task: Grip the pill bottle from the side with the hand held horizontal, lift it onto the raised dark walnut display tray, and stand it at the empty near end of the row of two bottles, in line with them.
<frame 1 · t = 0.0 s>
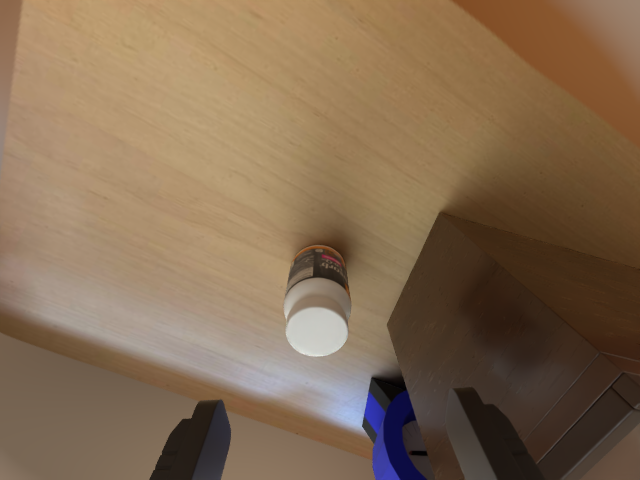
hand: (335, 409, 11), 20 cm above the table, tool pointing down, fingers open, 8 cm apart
blue curved housing: (411, 407, 40), on the table
pill bottle: (317, 266, 31), on the table
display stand: (552, 309, 34), on the table
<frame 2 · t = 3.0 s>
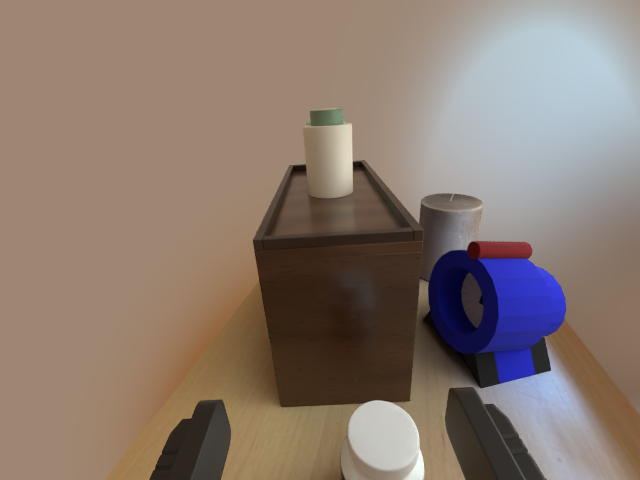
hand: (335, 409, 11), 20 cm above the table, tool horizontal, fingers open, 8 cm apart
middle bottle: (330, 192, 40), point 19 cm above the table, touching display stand
pillar candle: (442, 272, 56), on the table
blue curved housing: (485, 341, 40), on the table
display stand: (336, 308, 48), on the table
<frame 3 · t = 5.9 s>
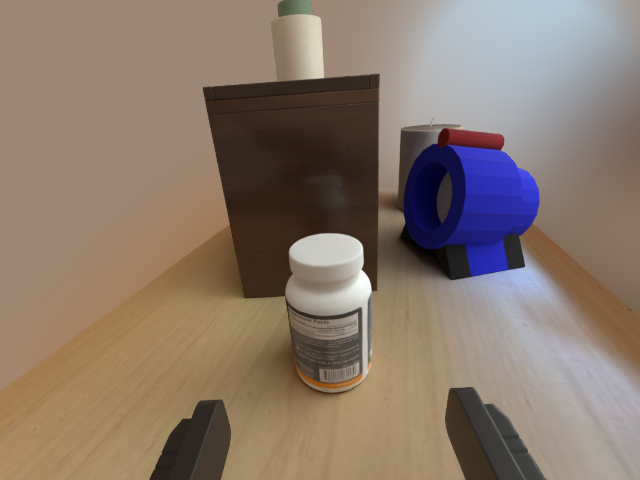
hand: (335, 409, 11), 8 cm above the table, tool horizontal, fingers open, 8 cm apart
middle bottle: (302, 99, 40), point 19 cm above the table, touching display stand
pillar candle: (424, 207, 55), on the table
blue curved housing: (460, 250, 39), on the table
pill bottle: (333, 366, 23), on the table
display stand: (313, 232, 47), on the table
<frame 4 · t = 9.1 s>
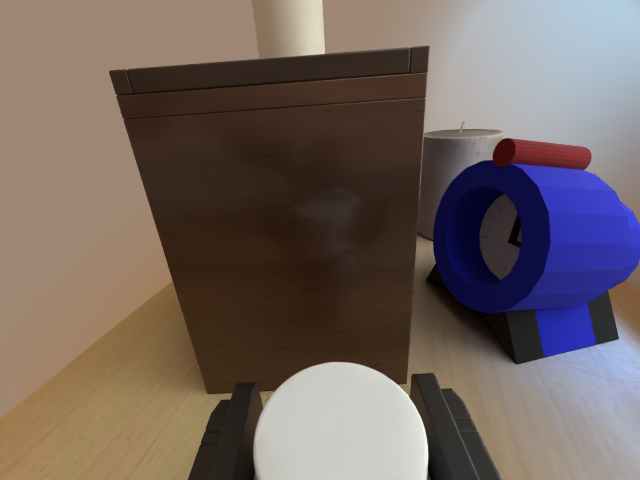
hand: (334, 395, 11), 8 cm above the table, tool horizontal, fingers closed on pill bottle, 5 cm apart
middle bottle: (295, 96, 29), point 19 cm above the table, touching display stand
pillar candle: (449, 231, 45), on the table
blue curved housing: (513, 304, 28), on the table
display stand: (311, 269, 37), on the table
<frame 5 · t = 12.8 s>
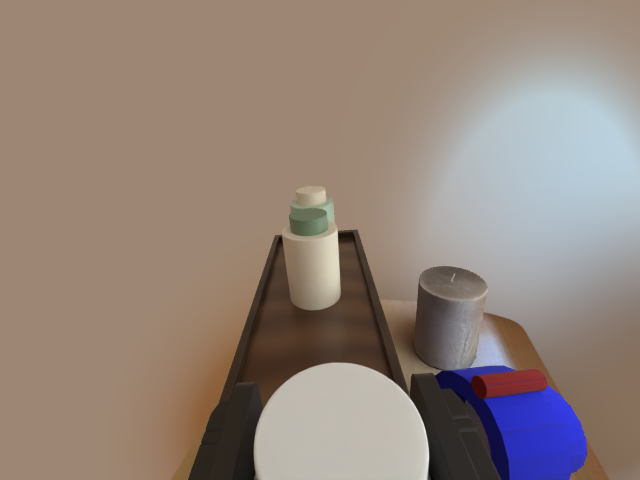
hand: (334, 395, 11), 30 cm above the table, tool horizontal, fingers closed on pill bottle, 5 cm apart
middle bottle: (315, 294, 36), point 19 cm above the table, touching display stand
pillar candle: (443, 351, 51), on the table
blue curved housing: (492, 465, 35), on the table
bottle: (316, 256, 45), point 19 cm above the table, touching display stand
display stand: (325, 405, 43), on the table
when the fingers open (27 cm above the table, at t = 16.5 s): pill bottle stays where it is, resting on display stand.
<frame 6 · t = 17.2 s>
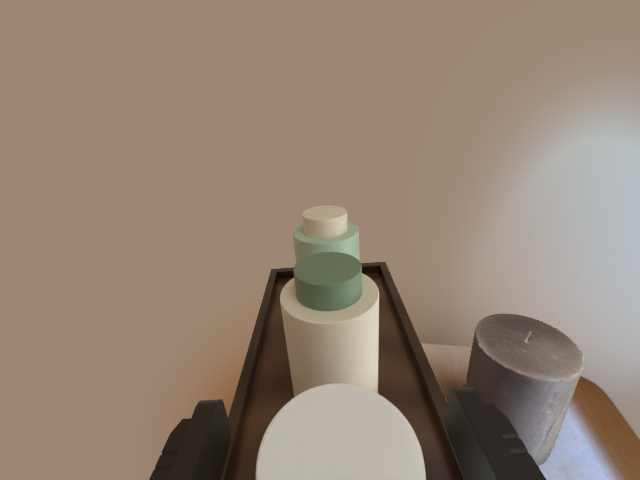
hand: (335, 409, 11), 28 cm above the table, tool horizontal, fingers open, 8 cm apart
middle bottle: (335, 390, 22), point 19 cm above the table, touching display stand
pillar candle: (502, 428, 37), on the table
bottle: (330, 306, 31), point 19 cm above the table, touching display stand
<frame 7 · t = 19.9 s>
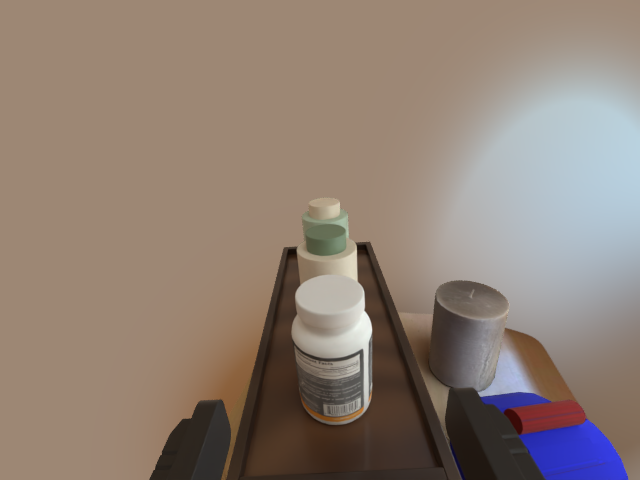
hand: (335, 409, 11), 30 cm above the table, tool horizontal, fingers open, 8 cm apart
middle bottle: (331, 315, 34), point 19 cm above the table, touching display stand
pillar candle: (459, 368, 49), on the table
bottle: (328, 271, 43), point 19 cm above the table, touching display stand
pill bottle: (336, 397, 24), point 19 cm above the table, touching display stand
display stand: (338, 428, 41), on the table
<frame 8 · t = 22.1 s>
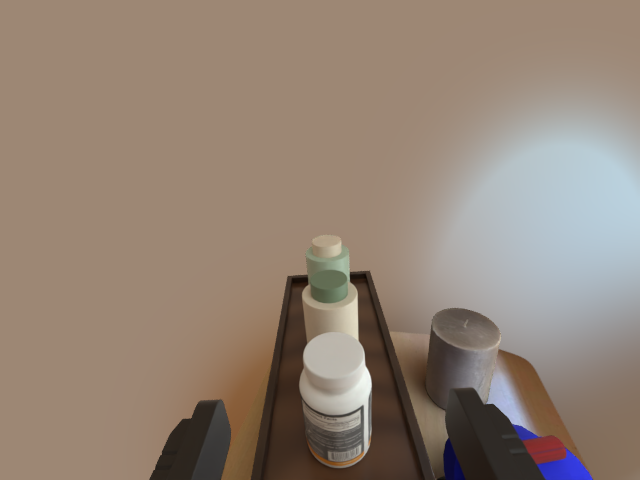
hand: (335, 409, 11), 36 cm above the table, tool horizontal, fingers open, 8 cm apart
middle bottle: (333, 352, 36), point 19 cm above the table, touching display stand
pillar candle: (454, 391, 52), on the table
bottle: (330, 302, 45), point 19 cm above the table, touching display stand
pill bottle: (339, 438, 27), point 19 cm above the table, touching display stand
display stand: (340, 452, 44), on the table
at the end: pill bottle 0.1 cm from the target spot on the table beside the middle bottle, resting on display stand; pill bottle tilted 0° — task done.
